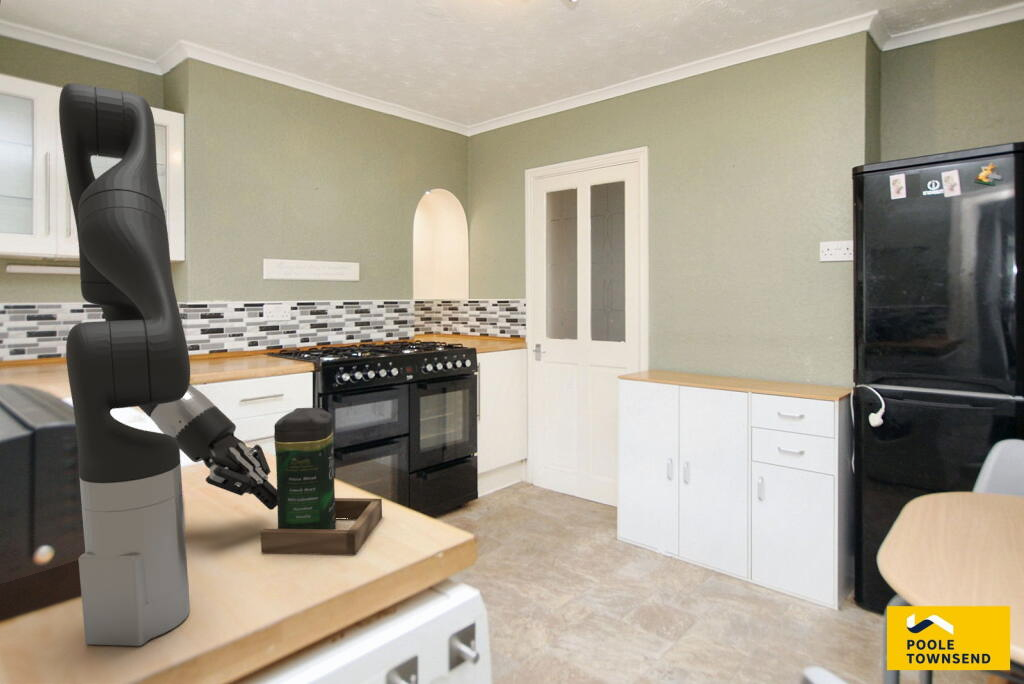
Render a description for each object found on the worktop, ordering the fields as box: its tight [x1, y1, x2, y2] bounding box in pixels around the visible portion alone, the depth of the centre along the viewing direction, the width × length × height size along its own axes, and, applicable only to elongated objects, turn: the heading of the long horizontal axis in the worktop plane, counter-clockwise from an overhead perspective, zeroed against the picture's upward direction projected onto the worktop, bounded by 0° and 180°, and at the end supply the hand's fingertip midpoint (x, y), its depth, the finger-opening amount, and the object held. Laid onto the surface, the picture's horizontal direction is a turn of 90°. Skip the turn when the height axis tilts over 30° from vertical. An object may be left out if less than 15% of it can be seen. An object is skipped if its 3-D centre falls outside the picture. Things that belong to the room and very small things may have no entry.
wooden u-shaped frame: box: [259, 497, 383, 555], centre depth 89 cm, size 13×13×3 cm
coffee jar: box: [273, 407, 337, 530], centre depth 89 cm, size 10×8×19 cm
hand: (278, 504), depth 90 cm, fingers closed
